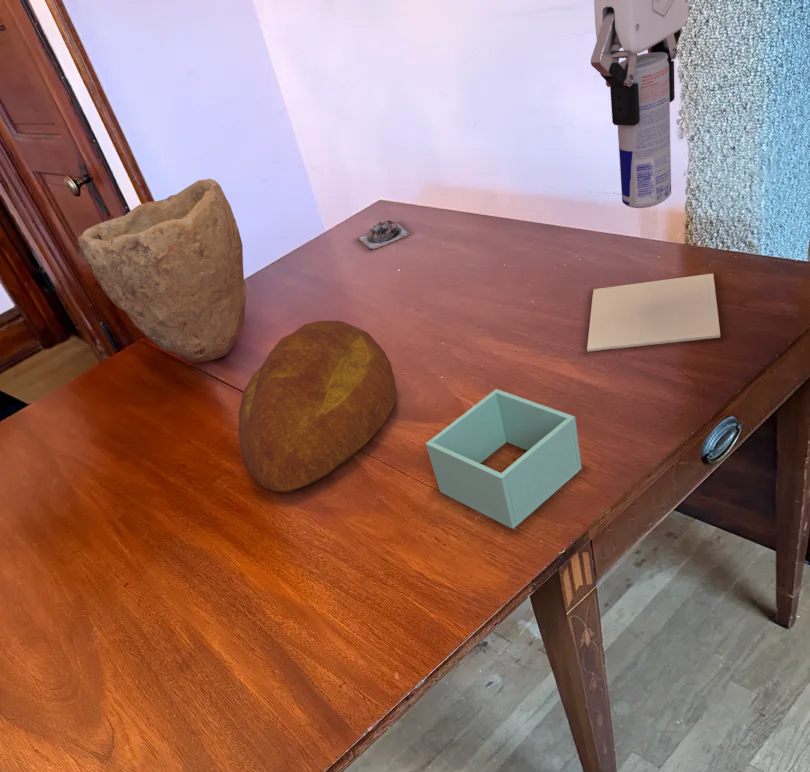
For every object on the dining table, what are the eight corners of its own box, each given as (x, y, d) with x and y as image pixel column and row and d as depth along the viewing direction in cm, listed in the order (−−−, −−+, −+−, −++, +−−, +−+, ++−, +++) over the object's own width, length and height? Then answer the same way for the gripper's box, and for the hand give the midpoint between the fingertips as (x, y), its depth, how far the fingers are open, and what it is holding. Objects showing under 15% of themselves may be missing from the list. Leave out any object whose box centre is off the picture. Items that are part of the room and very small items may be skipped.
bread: (208, 505, 94) (161, 426, 86) (301, 361, 116) (271, 287, 108) (358, 504, 87) (323, 417, 78) (428, 350, 108) (406, 269, 100)
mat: (713, 275, 102) (713, 273, 102) (720, 337, 92) (720, 334, 91) (593, 291, 108) (593, 289, 108) (587, 351, 97) (586, 349, 97)
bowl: (259, 306, 135) (199, 163, 118) (299, 350, 119) (236, 190, 102) (144, 359, 131) (65, 219, 115) (169, 412, 115) (81, 257, 98)
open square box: (506, 438, 88) (496, 388, 84) (582, 468, 81) (575, 416, 76) (439, 492, 84) (425, 443, 80) (512, 529, 77) (501, 478, 72)
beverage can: (677, 189, 90) (676, 47, 80) (662, 210, 87) (658, 65, 77) (632, 191, 93) (624, 54, 83) (615, 211, 90) (606, 72, 80)
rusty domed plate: (369, 251, 140) (366, 240, 139) (358, 239, 146) (355, 228, 145) (410, 234, 141) (407, 224, 139) (397, 223, 147) (395, 213, 145)
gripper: (612, -71, 66) (624, 145, 78) (723, -125, 72) (718, 83, 84) (546, -59, 71) (567, 143, 83) (655, -111, 77) (660, 84, 89)
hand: (643, 111), depth 83 cm, fingers closed on beverage can, 5 cm apart
